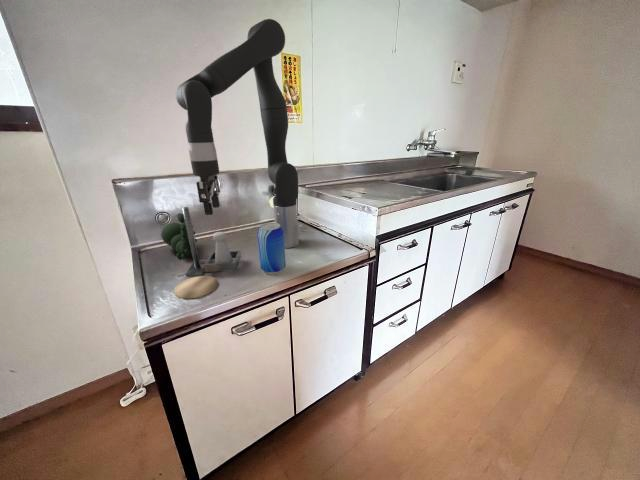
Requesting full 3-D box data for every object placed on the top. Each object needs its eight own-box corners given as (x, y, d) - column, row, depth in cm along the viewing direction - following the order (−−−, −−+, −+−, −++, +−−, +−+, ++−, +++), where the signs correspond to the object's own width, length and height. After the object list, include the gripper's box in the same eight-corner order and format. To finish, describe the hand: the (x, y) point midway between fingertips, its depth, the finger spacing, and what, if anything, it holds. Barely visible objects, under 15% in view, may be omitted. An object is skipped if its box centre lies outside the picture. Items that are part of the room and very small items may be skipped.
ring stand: (241, 260, 97) (234, 202, 88) (237, 273, 88) (228, 210, 79) (195, 263, 95) (182, 204, 87) (185, 277, 86) (170, 212, 77)
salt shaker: (236, 264, 94) (231, 230, 89) (229, 272, 89) (224, 236, 84) (220, 263, 95) (214, 229, 90) (213, 271, 89) (206, 235, 84)
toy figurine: (207, 262, 99) (183, 239, 115) (200, 215, 91) (175, 197, 107) (181, 270, 93) (159, 245, 109) (171, 221, 85) (148, 201, 101)
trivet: (221, 276, 86) (221, 274, 86) (212, 297, 75) (211, 295, 75) (182, 278, 85) (182, 277, 85) (167, 300, 74) (167, 298, 74)
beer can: (274, 278, 85) (271, 232, 79) (256, 271, 89) (250, 227, 83) (290, 267, 91) (288, 224, 85) (272, 262, 95) (269, 220, 89)
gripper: (210, 160, 72) (219, 216, 79) (222, 156, 85) (229, 204, 92) (182, 161, 72) (193, 218, 78) (198, 156, 85) (207, 205, 91)
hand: (213, 210), depth 85 cm, fingers open, 8 cm apart
